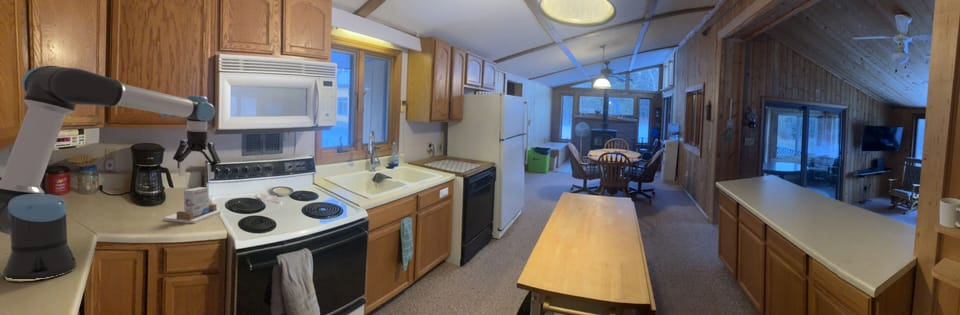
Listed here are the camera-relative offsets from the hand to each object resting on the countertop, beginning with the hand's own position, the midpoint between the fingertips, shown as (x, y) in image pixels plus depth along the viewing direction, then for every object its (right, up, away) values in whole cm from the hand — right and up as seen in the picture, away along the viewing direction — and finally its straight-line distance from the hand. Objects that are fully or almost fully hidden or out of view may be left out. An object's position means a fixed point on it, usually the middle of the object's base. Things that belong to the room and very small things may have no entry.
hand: (196, 177), depth 186 cm
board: (-4, -18, +3) cm, 19 cm away
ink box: (-2, -17, +3) cm, 17 cm away
